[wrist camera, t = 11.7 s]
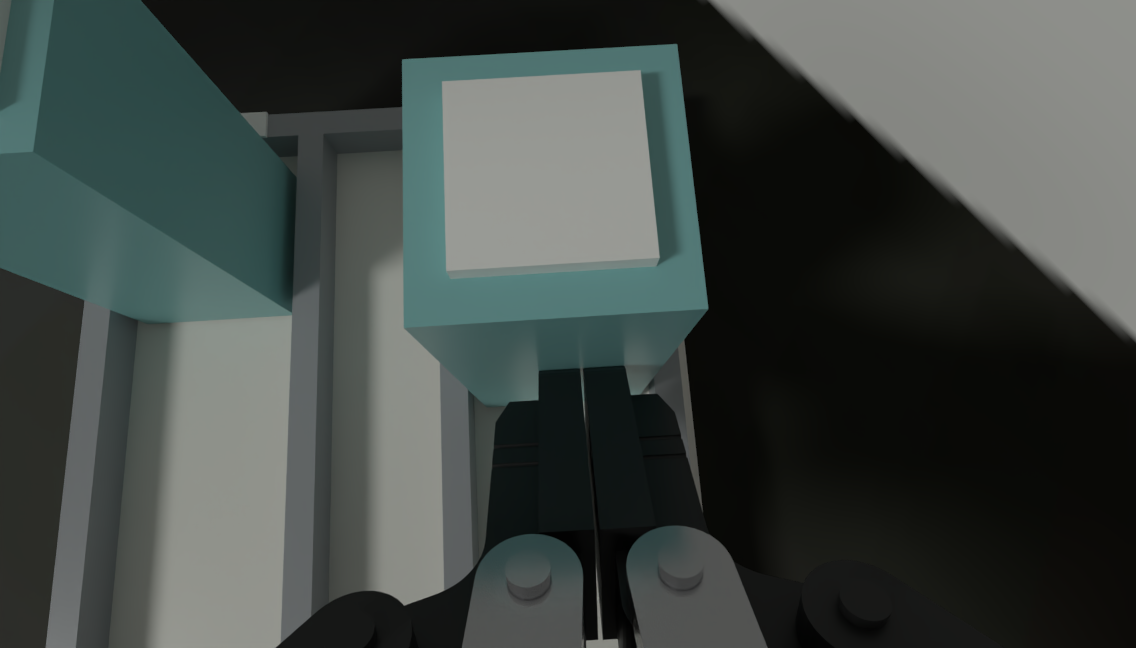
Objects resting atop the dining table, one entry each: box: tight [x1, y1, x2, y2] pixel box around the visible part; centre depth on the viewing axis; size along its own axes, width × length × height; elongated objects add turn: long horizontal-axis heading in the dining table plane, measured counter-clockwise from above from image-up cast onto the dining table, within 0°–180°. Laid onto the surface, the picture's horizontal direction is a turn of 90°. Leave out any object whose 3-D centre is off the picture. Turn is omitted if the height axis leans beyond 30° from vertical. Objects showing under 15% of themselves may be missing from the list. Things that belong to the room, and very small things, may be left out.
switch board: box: [46, 107, 703, 648], centre depth 15 cm, size 15×14×2 cm
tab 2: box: [402, 44, 708, 407], centre depth 12 cm, size 4×4×8 cm
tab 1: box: [0, 0, 297, 324], centre depth 12 cm, size 4×4×8 cm
